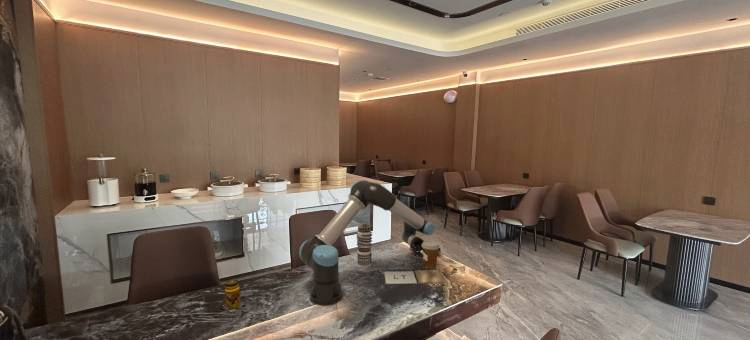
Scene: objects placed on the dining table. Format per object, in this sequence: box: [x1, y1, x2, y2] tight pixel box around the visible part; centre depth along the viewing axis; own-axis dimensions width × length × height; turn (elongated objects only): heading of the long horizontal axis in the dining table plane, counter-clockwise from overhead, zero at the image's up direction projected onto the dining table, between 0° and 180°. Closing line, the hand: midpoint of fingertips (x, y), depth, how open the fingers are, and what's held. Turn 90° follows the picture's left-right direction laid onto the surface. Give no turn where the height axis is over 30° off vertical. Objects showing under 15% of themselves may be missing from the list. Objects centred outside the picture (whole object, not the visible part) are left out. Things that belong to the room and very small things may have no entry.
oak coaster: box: [414, 269, 447, 284], centre depth 169 cm, size 14×14×1 cm
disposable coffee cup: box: [421, 240, 441, 268], centre depth 168 cm, size 10×10×12 cm
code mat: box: [383, 270, 418, 285], centre depth 169 cm, size 16×14×1 cm
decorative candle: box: [356, 221, 373, 268], centre depth 185 cm, size 9×9×25 cm
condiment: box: [224, 279, 242, 310], centre depth 140 cm, size 7×8×12 cm
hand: (434, 257), depth 164 cm, fingers closed on disposable coffee cup, 8 cm apart
